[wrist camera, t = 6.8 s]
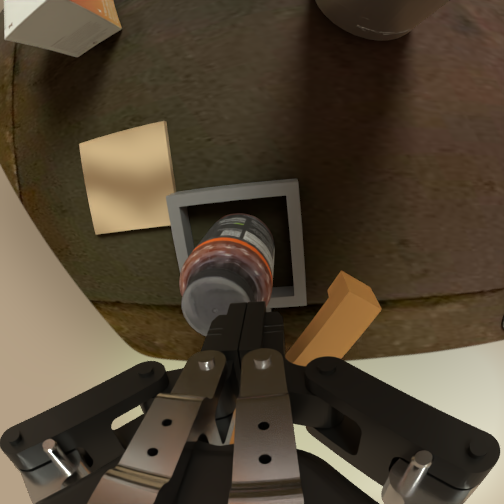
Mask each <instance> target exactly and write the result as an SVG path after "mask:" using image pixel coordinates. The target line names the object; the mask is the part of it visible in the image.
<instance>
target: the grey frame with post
mask: <svg viewBox="0 0 504 504" xmlns="http://www.w3.org/2000/svg"><path fill="white" fill-rule="evenodd" d="M275 196H286V199H287V210H288V221H289V232H290V244H291V256H292V269H293V282H294V286H285V287H272V293H271V298H270V301H269V303H268V305H267V307H266V312H272V310H271V308H280V307H294V306H307V300H306V281H305V263H304V248H303V234H302V221H301V208H300V196H299V185H298V180H297V178H296V179H284V180H273V181H263V182H253V183H243V184H234V185H226V186H217V187H209V188H201V189H194V190H187V191H179V192H175V193H171V194H169V195H167V196H166V202H167V207H168V213H169V219H170V224H171V229H172V235H173V240H174V245H175V250H176V255H177V260H178V265H179V269H180V273H181V270H182V267H183V265H184V263H185V261H186V260H187V258H188V257H189V255H190V254H191V253H192V251H193V250H194V244H193V238H192V233H191V227H190V221H189V215H188V209H187V206H190V205H198V204H207V203H216V202H225V201H234V200H243V199H253V198H264V197H275Z"/></svg>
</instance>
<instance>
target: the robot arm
mask: <svg viewBox="0 0 504 504" xmlns="http://www.w3.org/2000/svg"><path fill="white" fill-rule="evenodd" d="M315 1H316V3H317V5H318V7H319V8H320V9H321V11H322V12H323V13H324V15H325V16H326V17H327V18H329V19H330V20H331V21H332V22H333V23H334V24H336V25H337V26H339V27H340V28H342V29H343V30H345V31H347V32H349V33H351V34H353V35H355V36H359V37H362V38H365V39H370V40H377V41H383V40H392V39H397V38H400V37H402V36H404V35H405V34H407V33H408V32H410V31H411V30H412V29H413V28H415V27H416V26H417V25H418V24H420V23H421V22H422V21H423V20H425V19H426V18H428V17H429V16H430V15H431V14H433V13H434V12H435V11H437V10H438V9H439V8H441V7H442V6H443V5H445V4H446V3H447V2H448V1H450V0H315ZM138 405H140V406H141V408H142V411H143V413H144V414H142V415H141V416H139V417H137V418H136V419H134V420H132V421H130V422H129V423H127V424H125V425H123V426H122V427H120V428H118V429H116V430H112V429H111V424H112V422H113V420H114V419H115V418H117V417H119V416H121V415H123V414H124V413H126V412H128V411H129V410H131V409H133V408H135V407H137V406H138ZM293 424H298V425H304V426H306V429H307V431H308V432H309V433H310V434H311V435H312V436H314V437H315V438H316V439H317V440H319V441H320V442H321V443H323V444H324V445H326V446H327V447H328V448H329V449H331V450H332V451H333V452H335V453H336V454H337V455H339V456H340V457H342V458H343V459H344V460H346V461H347V462H348V463H350V464H351V465H353V466H354V467H356V468H357V469H358V470H360V471H361V472H363V473H364V474H366V475H367V476H368V477H370V478H371V479H373V480H374V481H376V482H377V483H379V484H380V485H382V486H383V489H382V500H383V502H384V504H463V503H464V502H465V501H466V500H467V499H468V498H469V497H470V495H471V494H472V493H473V492H474V491H475V489H476V488H477V487H478V486H479V485H480V483H481V482H482V481H483V480H484V478H485V477H486V476H487V474H488V473H489V472H490V470H491V469H492V468H493V467H494V465H495V464H496V462H497V461H498V459H499V456H500V447H499V443H498V442H497V440H496V439H495V438H494V437H493V436H492V435H491V434H489V433H487V432H485V431H482V430H480V429H478V428H476V427H474V426H471V425H469V424H467V423H465V422H463V421H461V420H459V419H457V418H454V417H452V416H450V415H448V414H446V413H444V412H442V411H440V410H438V409H436V408H433V407H432V406H429V405H428V404H426V403H423V402H422V401H420V400H417V399H416V398H414V397H412V396H410V395H408V394H406V393H404V392H402V391H400V390H398V389H396V388H394V387H392V386H390V385H388V384H386V383H385V382H383V381H381V380H379V379H377V378H375V377H373V376H371V375H369V374H368V373H366V372H364V371H362V370H360V369H358V368H356V367H355V366H353V365H351V364H349V363H347V362H345V361H344V360H342V359H340V358H337V357H332V356H324V357H319V358H316V359H314V360H312V361H310V362H309V363H308V364H307V366H300V365H296V364H293V363H291V362H289V361H288V360H287V359H286V358H285V338H284V325H283V317H282V316H281V314H280V313H279V312H278V311H276V312H266V303H265V301H257V302H248V303H247V302H243V303H230V305H229V309H228V312H227V315H218V316H217V317H216V318H215V319H214V320H213V321H212V322H211V325H210V328H209V330H208V333H207V336H206V338H205V341H204V344H203V347H202V349H201V352H198V353H196V354H194V355H193V356H191V357H190V358H189V359H188V361H187V363H186V365H185V367H184V368H182V369H177V370H172V371H167V372H166V370H165V368H164V366H163V365H162V364H161V363H159V362H155V361H147V362H143V363H140V364H137V365H135V366H134V367H132V368H130V369H128V370H126V371H124V372H122V373H120V374H119V375H116V376H115V377H113V378H111V379H109V380H107V381H105V382H103V383H101V384H99V385H97V386H95V387H93V388H91V389H89V390H87V391H85V392H83V393H82V394H79V395H77V396H75V397H73V398H71V399H69V400H67V401H65V402H63V403H61V404H59V405H57V406H55V407H53V408H51V409H49V410H47V411H45V412H43V413H41V414H38V415H37V416H34V417H32V418H30V419H28V420H26V421H24V422H21V423H19V424H17V425H15V426H13V427H11V428H9V429H8V430H6V431H5V432H4V434H3V435H2V437H1V439H0V447H1V449H2V450H3V452H4V453H5V454H6V455H7V456H8V457H9V459H10V460H11V461H12V462H13V463H14V465H15V467H16V468H17V469H18V470H19V471H20V472H21V475H22V477H23V480H24V483H25V486H26V488H27V491H28V493H29V496H30V498H31V501H32V503H33V504H379V503H378V502H376V501H375V500H373V499H372V498H371V497H370V496H368V495H367V494H366V493H364V492H363V491H362V490H360V489H359V488H358V487H357V486H355V485H354V484H353V483H351V482H350V481H349V480H348V479H346V478H345V477H344V476H343V475H341V474H340V473H339V472H338V471H337V470H335V469H334V468H333V467H332V466H331V465H329V464H328V463H327V462H326V461H324V460H323V459H321V458H319V457H318V456H315V455H313V454H311V453H308V452H306V451H303V450H299V449H296V443H295V435H294V427H293ZM234 425H235V434H234V444H229V443H230V440H231V436H232V432H233V429H234Z"/></svg>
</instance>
